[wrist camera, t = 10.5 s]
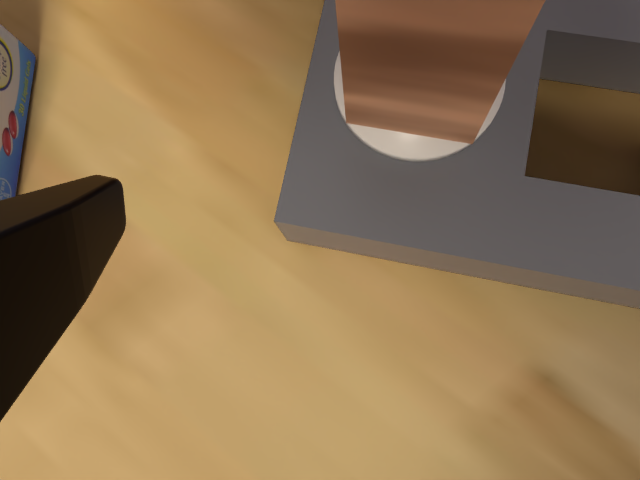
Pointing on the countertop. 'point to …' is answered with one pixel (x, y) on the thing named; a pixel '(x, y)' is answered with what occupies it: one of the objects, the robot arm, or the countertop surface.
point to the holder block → (473, 171)
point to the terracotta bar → (428, 61)
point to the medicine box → (13, 107)
